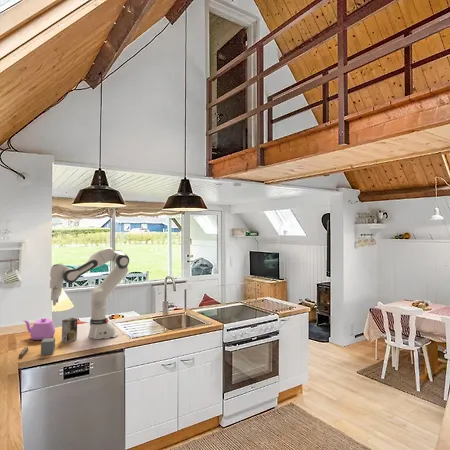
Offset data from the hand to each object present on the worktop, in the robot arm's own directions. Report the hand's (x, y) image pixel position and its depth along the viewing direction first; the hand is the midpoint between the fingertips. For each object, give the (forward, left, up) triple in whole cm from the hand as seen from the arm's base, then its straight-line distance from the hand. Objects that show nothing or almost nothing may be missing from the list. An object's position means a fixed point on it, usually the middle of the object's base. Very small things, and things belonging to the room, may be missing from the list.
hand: (55, 303), depth 259 cm
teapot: (+11, -14, -29) cm, 34 cm away
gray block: (0, +21, -29) cm, 36 cm away
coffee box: (-10, -4, -29) cm, 31 cm away
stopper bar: (+15, +21, -29) cm, 39 cm away
